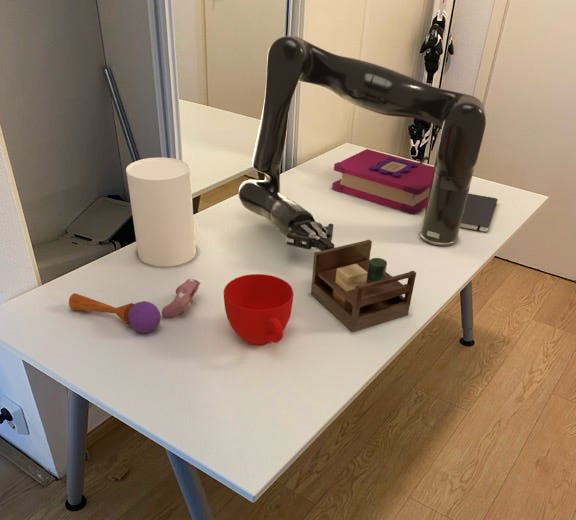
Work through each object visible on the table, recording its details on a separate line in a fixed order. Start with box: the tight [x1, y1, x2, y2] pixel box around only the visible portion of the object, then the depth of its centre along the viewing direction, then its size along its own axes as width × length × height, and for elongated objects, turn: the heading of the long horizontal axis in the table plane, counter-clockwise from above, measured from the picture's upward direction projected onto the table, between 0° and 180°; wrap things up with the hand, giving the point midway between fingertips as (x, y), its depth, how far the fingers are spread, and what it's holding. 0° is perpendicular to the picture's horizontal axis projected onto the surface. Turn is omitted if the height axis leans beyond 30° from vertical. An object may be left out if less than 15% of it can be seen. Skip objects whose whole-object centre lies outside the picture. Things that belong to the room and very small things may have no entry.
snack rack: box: [310, 239, 417, 333], centre depth 121 cm, size 14×16×10 cm
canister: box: [125, 157, 197, 267], centre depth 132 cm, size 14×14×20 cm
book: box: [331, 148, 434, 215], centre depth 171 cm, size 21×28×8 cm
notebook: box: [460, 192, 499, 233], centre depth 162 cm, size 13×2×21 cm
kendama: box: [68, 293, 162, 334], centre depth 115 cm, size 6×6×20 cm
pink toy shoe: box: [161, 277, 201, 319], centre depth 119 cm, size 10×5×7 cm, turn 169°
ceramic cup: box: [223, 273, 294, 346], centre depth 110 cm, size 13×17×10 cm
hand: (331, 250), depth 128 cm, fingers closed
